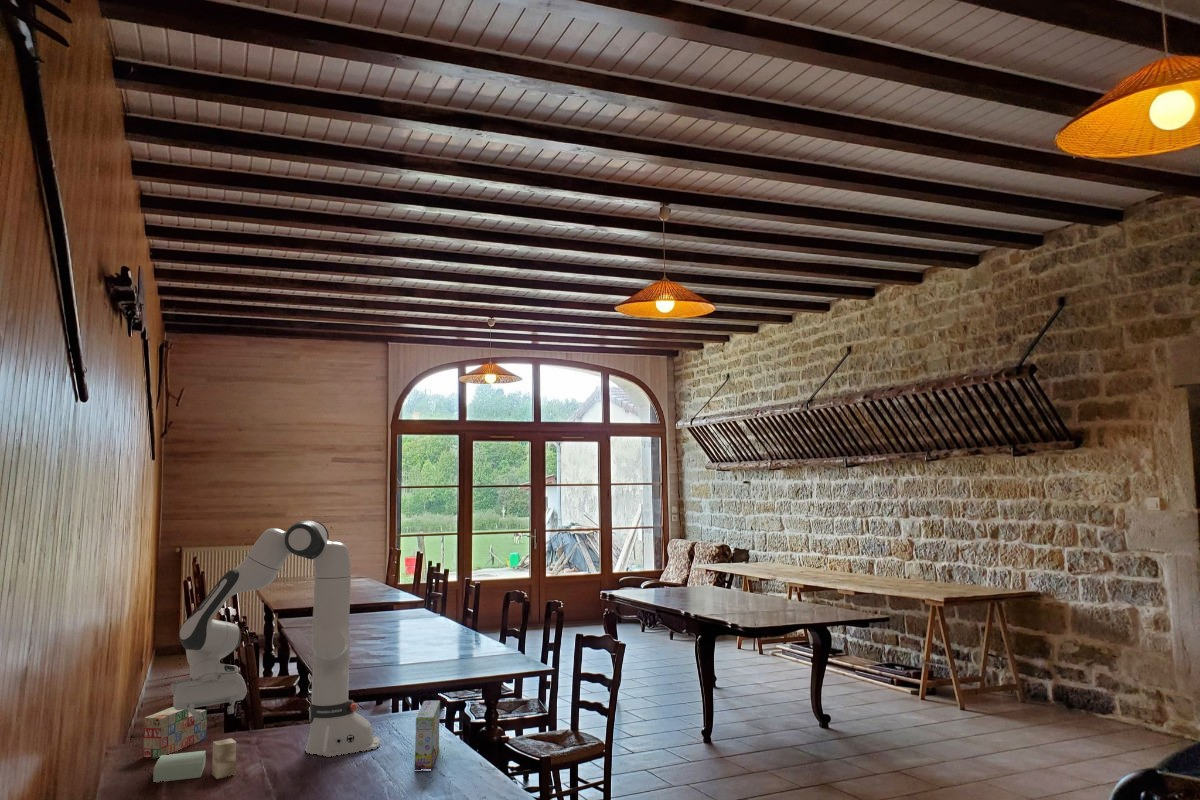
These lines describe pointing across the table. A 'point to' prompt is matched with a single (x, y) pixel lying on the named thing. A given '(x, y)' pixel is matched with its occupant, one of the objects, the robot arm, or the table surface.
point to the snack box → (427, 735)
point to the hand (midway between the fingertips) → (214, 715)
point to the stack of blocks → (172, 731)
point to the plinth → (179, 766)
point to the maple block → (224, 758)
